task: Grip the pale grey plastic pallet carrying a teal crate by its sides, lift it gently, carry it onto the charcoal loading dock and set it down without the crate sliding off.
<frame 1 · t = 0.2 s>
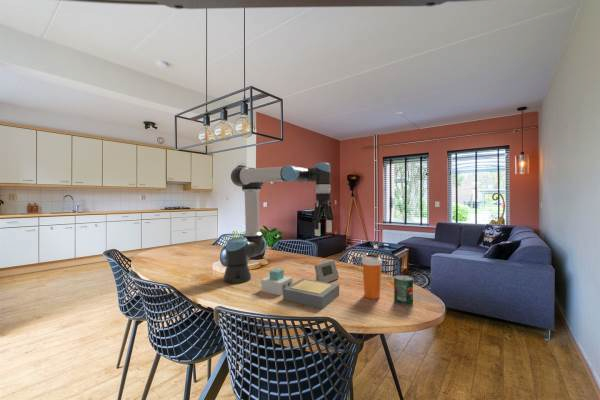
hand: (323, 234, 140), 28 cm above the table, fingers open, 13 cm apart
dock: (311, 297, 126), on the table
digital clock: (327, 281, 150), on the table
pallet: (277, 290, 137), on the table, touching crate
shaker bottle: (372, 296, 127), on the table
canned tomato: (403, 302, 120), on the table
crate: (276, 278, 137), point 6 cm above the table, touching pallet
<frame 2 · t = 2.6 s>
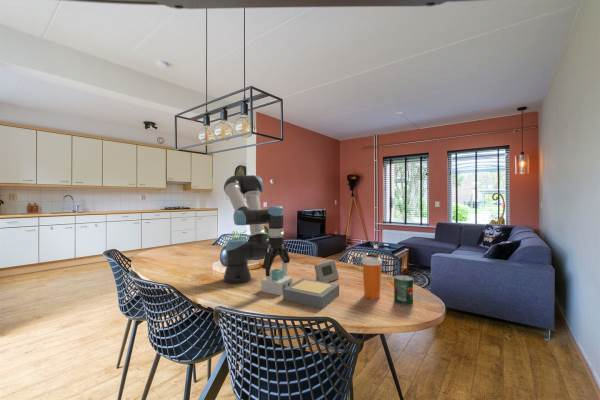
hand: (277, 278, 136), 6 cm above the table, fingers open, 13 cm apart
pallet: (277, 290, 137), on the table
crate: (276, 278, 137), point 6 cm above the table
everything else where it was.
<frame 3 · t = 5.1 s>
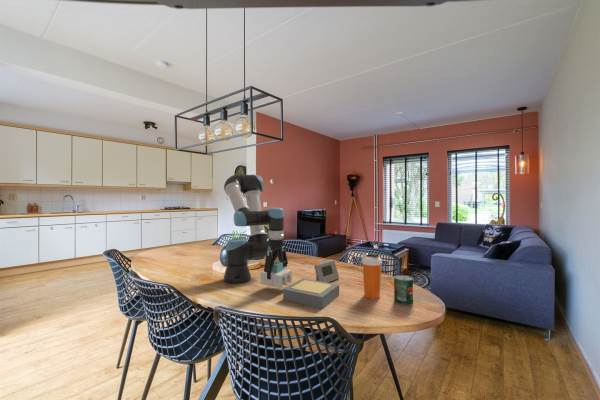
hand: (276, 282, 137), 4 cm above the table, fingers closed on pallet, 10 cm apart
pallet: (276, 282, 137), point 4 cm above the table, touching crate, gripper
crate: (276, 271, 137), point 10 cm above the table, touching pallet
everything else where it was.
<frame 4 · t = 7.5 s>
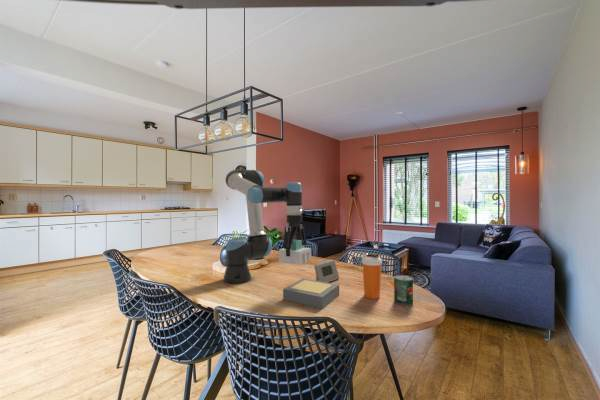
hand: (295, 260, 130), 16 cm above the table, fingers closed on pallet, 10 cm apart
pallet: (295, 261, 130), point 16 cm above the table, touching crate, gripper
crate: (294, 248, 130), point 22 cm above the table, touching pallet
everything else where it was.
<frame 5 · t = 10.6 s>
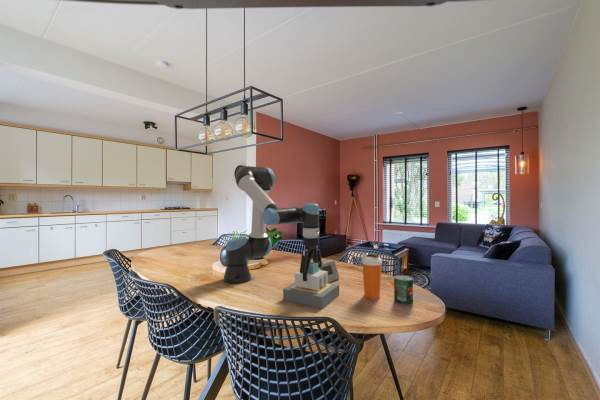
hand: (311, 284, 126), 6 cm above the table, fingers closed on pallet, 10 cm apart
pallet: (311, 284, 126), point 6 cm above the table, touching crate, gripper
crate: (311, 272, 126), point 12 cm above the table, touching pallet
everything else where it was.
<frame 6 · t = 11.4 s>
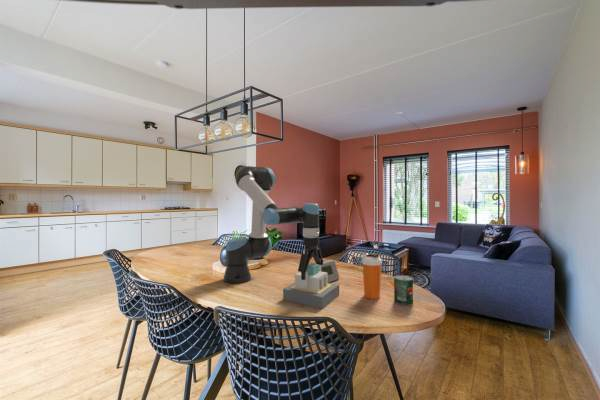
hand: (311, 282, 126), 7 cm above the table, fingers open, 13 cm apart
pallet: (311, 286, 126), point 5 cm above the table, touching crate, dock
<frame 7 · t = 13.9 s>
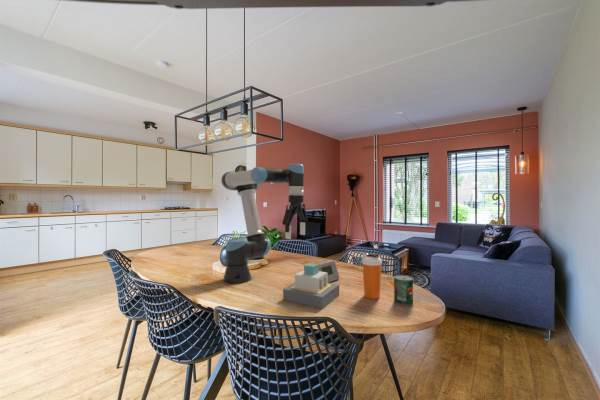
hand: (295, 236, 137), 27 cm above the table, fingers open, 13 cm apart
nothing on the table moved.
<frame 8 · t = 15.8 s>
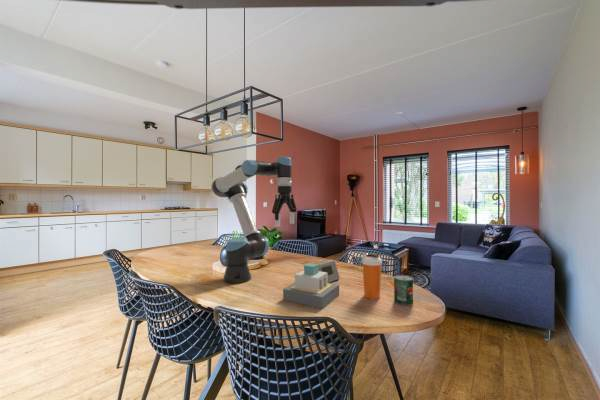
hand: (285, 225, 147), 32 cm above the table, fingers open, 13 cm apart
nothing on the table moved.
at the end: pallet inside the target area on the dock (0.1 cm from its centre), point 5.2 cm above the dock's base; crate inside the target area on the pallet (0.2 cm from its centre), point 6.0 cm above the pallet's base; the gripper is holding nothing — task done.
